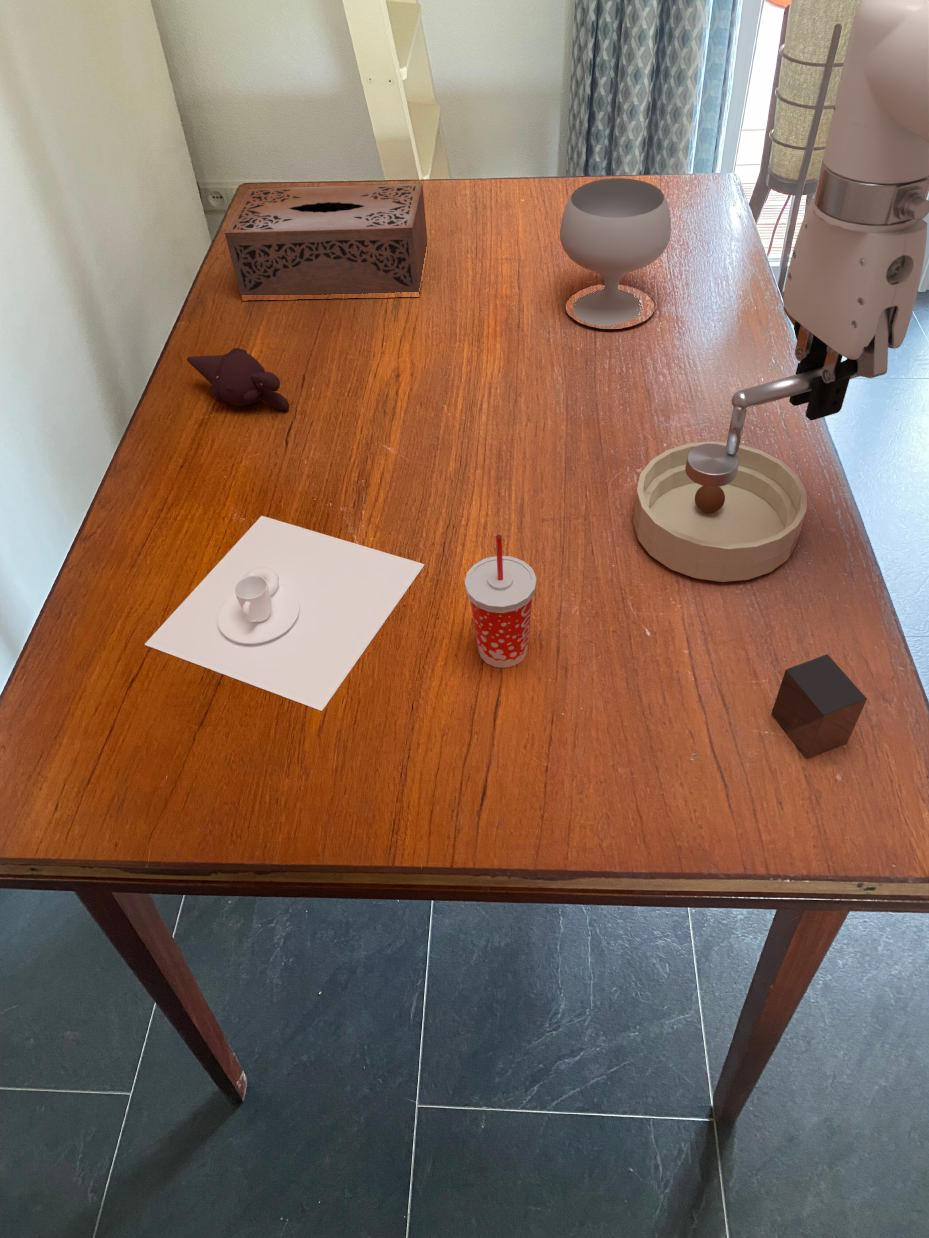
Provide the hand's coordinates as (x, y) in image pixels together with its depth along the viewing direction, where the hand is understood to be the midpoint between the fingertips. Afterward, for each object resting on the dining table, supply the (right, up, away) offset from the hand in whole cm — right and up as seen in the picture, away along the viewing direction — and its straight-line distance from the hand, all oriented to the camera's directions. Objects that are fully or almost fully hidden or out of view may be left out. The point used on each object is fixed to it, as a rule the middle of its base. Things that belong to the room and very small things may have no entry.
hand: (814, 406), depth 78 cm
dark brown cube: (-1, -28, -2) cm, 28 cm away
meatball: (-5, -6, +15) cm, 17 cm away
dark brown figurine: (-58, +9, +35) cm, 69 cm away
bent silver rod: (-2, -3, +2) cm, 5 cm away
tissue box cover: (-49, +33, +56) cm, 81 cm away
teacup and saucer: (-48, -17, +11) cm, 52 cm away
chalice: (-10, +24, +45) cm, 52 cm away
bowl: (-5, -9, +15) cm, 18 cm away
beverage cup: (-27, -21, +6) cm, 35 cm away
